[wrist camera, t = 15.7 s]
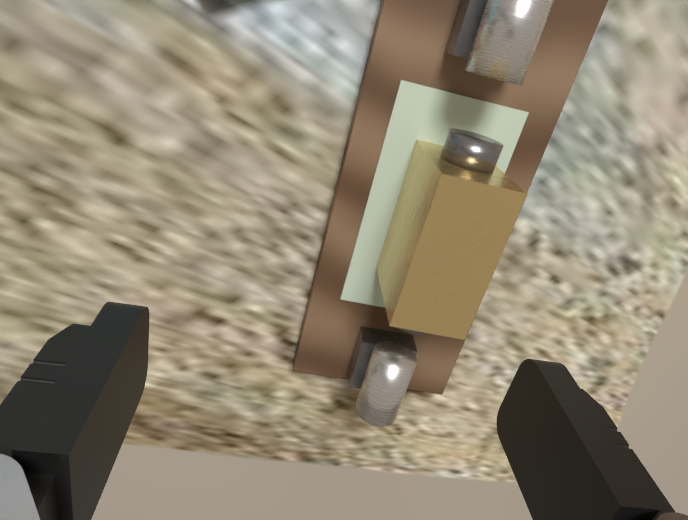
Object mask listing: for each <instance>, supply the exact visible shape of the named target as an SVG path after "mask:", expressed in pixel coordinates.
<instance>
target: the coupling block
mask: <svg viewBox="0 0 688 520" xmlns="http://www.w3.org/2000/svg"><path fill="white" fill-rule="evenodd" d="M502 148H503V144H502V143H500V142H498V141H496V140H494V139H492V138H489V137H486V136H484V135H481V134H477V133H474V132H470V131H467V130H462V129H456V128H450V129H449V131H448V134H447V137H446V140H445V143H444V146H442V145H438V144H434V143H430V142H426V141H422V140H418V139H416V142H415V146H414V149H413V152H412V155H411V158H410V161H409V165H408V168H407V171H406V174H405V177H404V181H403V184H402V187H401V190H400V193H399V197H398V200H397V203H396V206H395V209H394V213H393V216H392V219H391V222H390V225H389V228H388V232H387V235H386V238H385V241H384V244H383V248H382V251H381V254H380V257H379V260H378V264H377V267H376V269H377V274H378V278H379V282H380V287H381V291H382V296H383V300H384V304H385V309H386V313H387V318H388V322H389V326H392V327H397V328H398V329H400V330H402V331H405V332H408V333H411V334H418V335H422V334H427V333H429V334H435V335H440V336H446V337H451V338H456V339H462V340H465V338H466V336H467V333H468V331H469V329H470V326H471V324H472V322H473V320H474V317H475V315H476V313H477V310H478V308H479V306H480V303H481V301H482V299H483V296H484V294H485V292H486V289H487V287H488V285H489V282H490V280H491V278H492V275H493V273H494V271H495V269H496V266H497V264H498V262H499V259H500V257H501V255H502V252H503V250H504V248H505V245H506V243H507V241H508V238H509V236H510V234H511V231H512V229H513V227H514V224H515V222H516V220H517V217H518V215H519V213H520V211H521V208H522V206H523V204H524V201H525V199H526V197H527V193H526V192H525V191H524V190H523V189H522V188H520V187H519V186H518V185H517V184H516V183H515V182H514V181H513V180H512V179H510V178H509V177H508V176H507V175H506V174H505V173H504V172H503V171H501V170H500V169H499V168H498V167H497V166H496V164H497V161H498V159H499V156H500V153H501V151H502Z"/></svg>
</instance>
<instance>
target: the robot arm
mask: <svg viewBox="0 0 688 520" xmlns="http://www.w3.org/2000/svg"><path fill="white" fill-rule="evenodd" d="M148 340H149V309H148V307H144V306H137V305H129V304H122V303H114V302H107V303H106V304H105V305H104V306H103V308H102V309H101V311H100V312H99V314H98V315H97V317H96V319H95V320H94V322H93V323H92V325H91V326H87V325H79V324H72V325H70V326H69V327H67V328H65V329H64V330H62V331H61V332H59V333H58V334H56V335H55V336H53V337H52V338H50V339H49V340H48V341H47V342H46V344H45V345H44V346H43V348H42V349H41V350H40V352H39V353H38V354H37V356H36V357H35V359H34V362H33V364H30V365H29V367H28V368H27V369H26V371H25V372H24V374H23V375H22V376H21V380H20V381H18V382H17V383H16V384H15V386H14V387H13V388H12V390H11V391H10V393H9V394H8V395H7V397H6V398H5V399H4V401H3V402H2V403H1V405H0V520H91V519H92V516H93V514H94V511H95V509H96V506H97V504H98V501H99V499H100V497H101V494H102V492H103V489H104V487H105V484H106V482H107V479H108V477H109V475H110V472H111V470H112V467H113V465H114V462H115V460H116V457H117V455H118V453H119V450H120V448H121V445H122V443H123V440H124V438H125V435H126V433H127V431H128V428H129V426H130V423H131V421H132V418H133V416H134V413H135V411H136V409H137V406H138V404H139V401H140V399H141V396H142V393H143V390H144V386H145V381H146V376H147V368H148ZM497 431H498V436H499V439H500V441H501V444H502V446H503V449H504V451H505V453H506V456H507V458H508V461H509V463H510V465H511V468H512V470H513V473H514V475H515V478H516V480H517V482H518V485H519V487H520V490H521V492H522V494H523V497H524V499H525V501H526V504H527V507H528V509H529V511H530V514H531V516H532V518H533V520H688V516H687V515H684V514H681V513H676V512H675V511H674V510H673V508H672V507H671V505H670V504H669V502H668V501H667V499H666V498H665V496H664V495H663V493H662V492H661V491H660V489H659V488H658V487H657V485H656V483H655V482H654V480H653V479H652V478H651V476H650V475H649V473H648V472H647V470H646V469H645V467H644V466H643V464H642V463H641V462H640V460H639V459H638V457H637V456H636V454H635V453H634V451H633V450H632V449H629V444H628V443H627V441H626V440H625V438H624V437H623V435H622V434H621V432H617V427H616V425H615V424H614V422H613V421H612V419H611V418H610V417H609V415H608V414H607V412H606V411H605V409H604V408H603V407H602V406H601V405H600V404H599V403H598V402H597V401H595V400H594V399H593V398H592V397H591V396H590V395H589V394H588V393H587V392H585V391H584V390H583V389H580V388H579V386H578V385H577V383H576V382H575V380H574V379H573V377H572V376H571V374H570V373H569V371H568V370H567V368H566V367H565V366H564V365H563V364H561V363H556V362H548V361H541V360H533V359H526V360H524V361H523V362H522V363H521V365H520V366H519V368H518V371H517V373H516V375H515V377H514V379H513V381H512V383H511V385H510V387H509V389H508V391H507V393H506V396H505V398H504V400H503V402H502V404H501V406H500V408H499V411H498V416H497Z"/></svg>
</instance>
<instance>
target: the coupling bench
mask: <svg viewBox="0 0 688 520" xmlns="http://www.w3.org/2000/svg"><path fill="white" fill-rule="evenodd" d="M607 2H608V0H382V1H381V5H380V9H379V13H378V17H377V21H376V25H375V29H374V33H373V37H372V42H371V46H370V50H369V54H368V58H367V62H366V66H365V70H364V74H363V78H362V82H361V86H360V91H359V95H358V99H357V103H356V107H355V111H354V115H353V119H352V123H351V127H350V131H349V136H348V140H347V144H346V148H345V152H344V156H343V160H342V164H341V168H340V172H339V176H338V180H337V185H336V189H335V193H334V197H333V201H332V205H331V209H330V213H329V217H328V221H327V225H326V230H325V234H324V238H323V242H322V246H321V250H320V254H319V258H318V262H317V266H316V270H315V274H314V279H313V283H312V287H311V291H310V295H309V299H308V303H307V307H306V311H305V315H304V319H303V324H302V328H301V332H300V336H299V340H298V344H297V348H296V352H295V356H294V365H293V371H298V372H304V373H310V374H316V375H323V376H329V377H335V378H342V379H348V382H349V387H355V388H361V389H360V392H359V395H358V398H357V401H356V404H355V409H356V412H357V414H358V415H359V416H360V417H361V418H362V419H363V420H364V421H366V422H367V423H369V424H372V425H375V426H388V425H391V424H392V423H393V422H394V421H395V419H396V416H397V414H398V411H399V409H400V406H401V403H402V401H403V398H404V395H405V393H406V390H407V389H411V390H417V391H423V392H430V393H436V394H442V393H443V391H444V389H445V386H446V384H447V382H448V379H449V377H450V374H451V372H452V370H453V367H454V365H455V363H456V360H457V358H458V355H459V353H460V351H461V348H462V346H463V344H464V341H465V340H462V339H456V338H451V337H446V336H440V335H435V334H429V333H427V334H422V335H418V334H411V333H408V332H405V331H402V330H400V329H398V328H397V327H392V326H389V322H388V318H387V313H386V309H385V304H384V300H383V296H382V291H381V287H380V282H379V278H378V274H377V269H376V267H377V264H378V260H379V257H380V254H381V251H382V248H383V244H384V241H385V238H386V235H387V232H388V228H389V225H390V222H391V219H392V216H393V213H394V209H395V206H396V203H397V200H398V197H399V193H400V190H401V187H402V184H403V181H404V177H405V174H406V171H407V168H408V165H409V161H410V158H411V155H412V152H413V149H414V146H415V142H416V139H418V140H422V141H426V142H430V143H434V144H438V145H442V146H444V143H445V140H446V137H447V134H448V131H449V129H450V128H456V129H462V130H467V131H470V132H474V133H477V134H481V135H484V136H486V137H489V138H492V139H494V140H496V141H498V142H500V143H502V144H503V148H502V151H501V153H500V156H499V159H498V161H497V164H496V166H497V167H498V168H499V169H500V170H501V171H503V172H504V173H505V174H506V175H507V176H508V177H509V178H510V179H512V180H513V181H514V182H515V183H516V184H517V185H518V186H519V187H520V188H522V189H523V190H524V191H525V192H526V193H527V192H528V189H529V187H530V185H531V182H532V180H533V177H534V175H535V173H536V170H537V168H538V166H539V163H540V161H541V158H542V156H543V154H544V151H545V149H546V147H547V144H548V142H549V139H550V137H551V135H552V132H553V130H554V128H555V125H556V123H557V120H558V118H559V116H560V113H561V111H562V109H563V106H564V104H565V101H566V99H567V97H568V94H569V92H570V90H571V87H572V85H573V82H574V80H575V78H576V75H577V73H578V71H579V68H580V66H581V63H582V61H583V59H584V56H585V54H586V52H587V49H588V47H589V44H590V42H591V40H592V37H593V35H594V33H595V30H596V28H597V25H598V23H599V21H600V18H601V16H602V14H603V11H604V9H605V7H606V4H607ZM471 325H472V324H471ZM470 327H471V326H470ZM468 332H469V331H468ZM467 334H468V333H467ZM465 339H466V338H465Z"/></svg>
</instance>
